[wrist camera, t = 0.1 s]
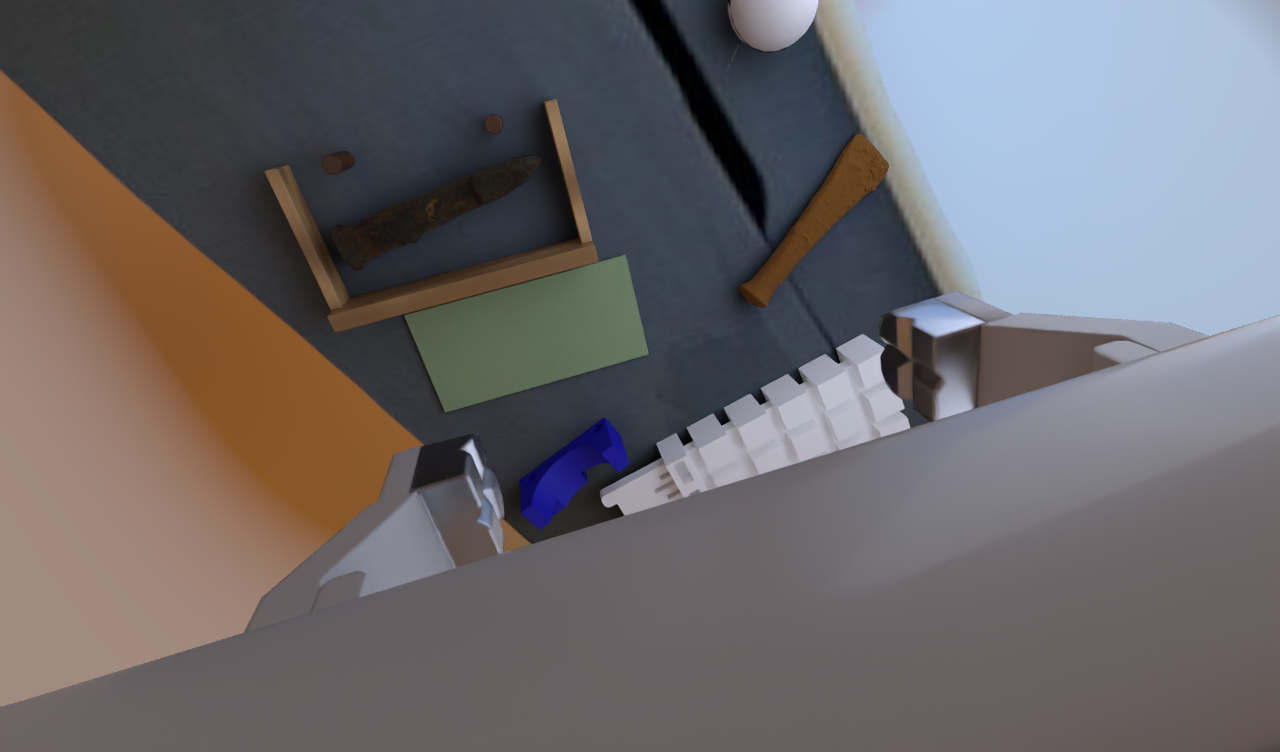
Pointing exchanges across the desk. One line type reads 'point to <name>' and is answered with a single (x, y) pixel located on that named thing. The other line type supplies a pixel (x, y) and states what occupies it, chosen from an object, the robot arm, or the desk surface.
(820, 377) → the organizer
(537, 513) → the cable clip
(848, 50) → the desk surface
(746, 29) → the white seamed ball
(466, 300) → the mat
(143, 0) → the desk surface
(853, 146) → the primitive tool
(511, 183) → the hand tool
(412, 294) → the tool rack
